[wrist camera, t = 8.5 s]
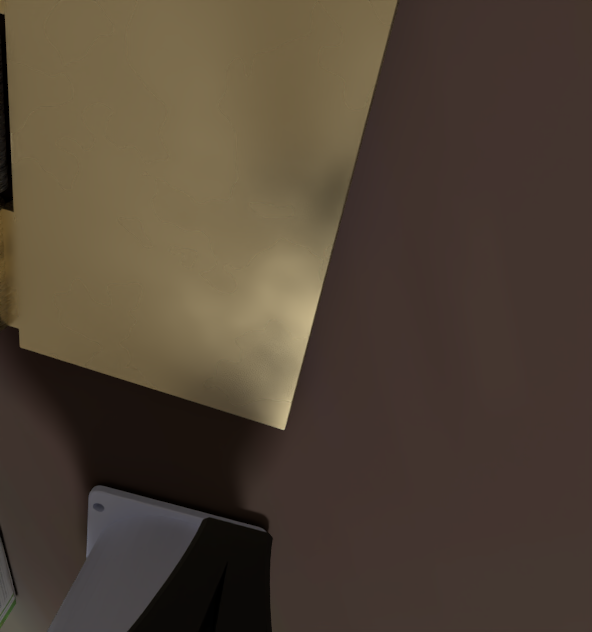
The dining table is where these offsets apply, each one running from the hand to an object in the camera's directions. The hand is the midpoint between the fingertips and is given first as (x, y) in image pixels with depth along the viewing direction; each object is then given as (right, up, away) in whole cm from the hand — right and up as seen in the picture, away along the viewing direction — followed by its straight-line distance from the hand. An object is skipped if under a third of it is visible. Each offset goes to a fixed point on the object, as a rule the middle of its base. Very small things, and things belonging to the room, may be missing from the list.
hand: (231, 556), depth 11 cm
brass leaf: (-3, +10, +5) cm, 12 cm away
